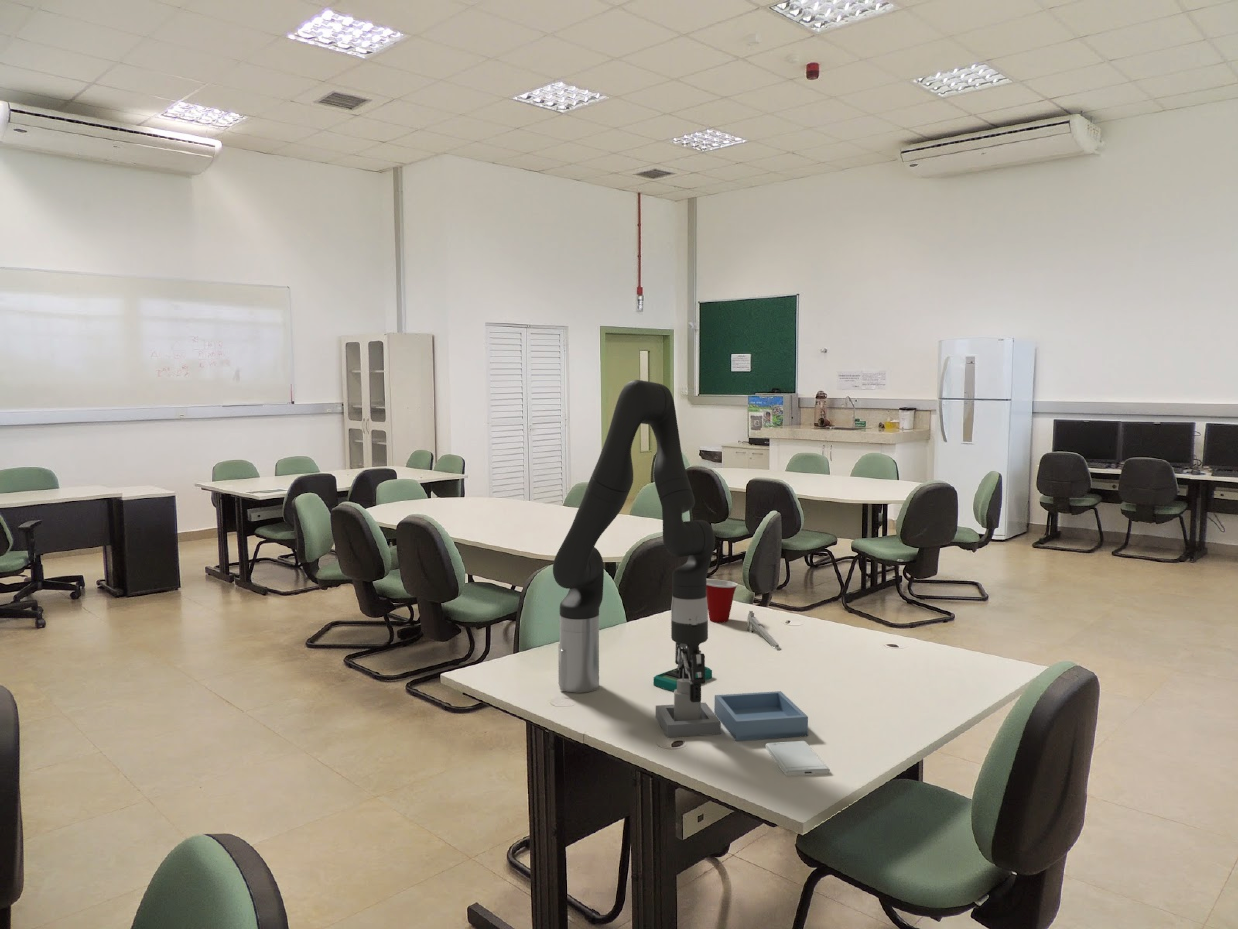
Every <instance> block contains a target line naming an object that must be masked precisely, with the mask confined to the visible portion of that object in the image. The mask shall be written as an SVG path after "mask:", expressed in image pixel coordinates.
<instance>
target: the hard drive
mask: <svg viewBox="0 0 1238 929" xmlns="http://www.w3.org/2000/svg"><path fill="white" fill-rule="evenodd" d="M765 750H767V752H768V753H769V755H770V756H771V758H772V759H773V760H774V761H775V763H776V765H777V766H778V767H779V768H780V770H781V771H782V772H783V773H784V775H785V776H786V777H796V776H811V775H812V776H814V775H827V774H828V775H829V774H831V773H830V772H831V771H830V770H831V769H830V768H829V767H828V766H827V764H826V763H825V762H824V761H823V760H822V759H821V758H820V756H819V755H818V754H817V753H816V752H815V751H814V750H813V748H812V747H811V746H810V745H809V744H808V742H807V741H805V740H798V741H797V740H796V741H793V740H792V741H784V742H783V741H782V742H780V741H779V742H767V743H766V744H765Z"/></svg>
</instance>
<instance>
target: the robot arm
mask: <svg viewBox="0 0 1238 929" xmlns="http://www.w3.org/2000/svg"><path fill="white" fill-rule="evenodd" d="M676 412H677V411H676V406H675V400H674V396H673V393H672V392H671V390H670V389H669V388H668V387H667V386H666V385H665V384H662V383H658V382H653V381H648V380H640V379H632V380H630V381H628V382H627V383H626V384H625V385H624V386H623V387H622V389H621V391H620V393H619V395H618V398H617V401H616V403H615V407H614V411H613V415H612V418H611V421H610V426H609V429H608V433H607V435H606V437H605V441H604V443H603V446H602V449H601V452H600V454H599V457H598V460H597V462H596V464H595V467H594V469H593V471H592V473H591V476H590V478H589V481H588V484H587V486H586V488H585V491H584V495H583V497H582V499H581V502H580V504H579V506H578V510H577V511H576V514H575V517H574V519H573V522H572V524H571V526H570V528H569V531H568V532H567V533H566V536H565V538H564V540H563V542H562V544H561V545H560V547H559V549H558V550H557V553H556V555H555V557H554V560H553V563H552V574H553V578H554V581H555V582H556V583H557V584H558V586H560V587H561V588H563V589H567V590H568V589H569V590H568V593H567V594H566V596H564V598H563V600H561V602H560V604H559V643H558V645H557V646H558V686H559V689H560V691H561V692H568V693H576V694H577V693H579V694H580V693H581V694H582V693H589V692H592V691H595V690H598V688H599V687H600V607H601V604H602V602H603V598H604V597H603V596H604V579H605V578H604V577H605V575H604V574H605V573H604V572H605V565H604V560H603V556H602V555H601V552H600V551H599V549H597V548H596V547H595V546H596V544H597V543H598V540H599V539H600V537H601V536H602V534H603V533H604V532H605V531H606V530H607V528H608V527H609V526H610V525H611V524H612V523H613V521H614V520H615V519H616V517H617V516H618V515H619V513H620V512H621V511H622V509H623V507H624V505H625V503H626V502H627V498H628V496H629V494H630V492H631V489H632V485H633V483H634V468H633V461H632V447H633V443H634V439H635V438H636V434H637V432H638V429H639V427H640V425H641V424H642V425H649V426H650V428H651V431H652V432H653V435H654V437H655V441H656V455H655V461H654V466H653V481H654V485H655V488H656V492H657V495H658V499H659V502H660V505H661V516H662V517H661V518H662V541H663V545H664V548H665V549H666V550H667V551H666V552H668V553H669V554H670V555H671V556H673V557H675V558H676V557H677V558H683V557H688V558H687V561H686V563H684V564H683V565H680V566H678V567H676V568H674V570H673V571H672V575H671V576H672V577H671V578H672V581H671V583H672V584H671V585H672V586H671V588H672V589H671V591H672V592H671V593H672V595H671V598H672V599H671V607H670V618H671V619H670V620H671V622H670V628H671V631H670V633H671V634H670V636H671V640H672V641H673V642H675V656H674V657H675V659H674V663H675V665H677V666H676V668H678V670H679V679H682V674H683V669H684V679H689V683H690V701H691V702H700V701H701V702H702V685H703V684H705V683H706V680H705V667H706V662H705V660H706V655H705V654H704V653H702V651H701V650H700V645H701V644H704V643H706V642H707V640H708V638H709V630H708V629H709V624H708V623H709V622H708V621H709V613H708V605H707V584H706V580H707V577H708V572H709V569H710V565H711V561H712V557H713V554H714V550H715V549H714V548H715V546H716V545H715V544H716V537H715V536H716V535H715V532H714V529H713V527H712V526H711V524H710V523H709V522H708V521H706V520H703V519H696V520H689V521H684V520H683V514H684V513H687V512H689V511H691V510H692V509H693V508H694V506H695V504H696V499H695V496H694V493H693V489H692V486H691V483H690V480H689V477H688V473H687V470H686V466H685V463H684V457H683V453H682V448H681V447H682V445H681V439H680V431H679V427H678V421H677V420H678V419H677V413H676ZM696 673H697V674H698V678H696Z"/></svg>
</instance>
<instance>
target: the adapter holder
mask: <svg viewBox="0 0 1238 929" xmlns="http://www.w3.org/2000/svg"><path fill="white" fill-rule="evenodd" d="M655 719H656V721H657V722H658V724H659V725H660V727H661V729H662V732H664V735H665V736H666V737H667V738H679V736H680V737H681V736H682V737H693V736H695V737H696V736H708V735H721V729H722V728H721V726H722V725H721V724H722V722H721V721H720V720H719V719H718V717H717V716H716V715H715V713H714V711H713V710H712V709H711V708H710V706H709V705H708V704H707V702H701V720H688V721H674V704H661V705H655ZM682 737H681V738H682Z"/></svg>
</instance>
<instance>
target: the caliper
mask: <svg viewBox="0 0 1238 929" xmlns="http://www.w3.org/2000/svg"><path fill="white" fill-rule="evenodd" d="M746 619H747V621H746V622H747V623H746V626H747V627H746V628H747V631H749V632H750V631H754V632H755V633H759V634H760V635H761V636H762V637H763V638H764V639H765V640H766V641H767V643H768V644H769V645H770V646H771V647H772V646H773V647H775V648H776V649H777V650H776V649H775V648H774V649H775V650H776V651H781V647H780V645H779V643H778V642H777V641H776V640H775V639H774V637H772V635H771V634H770V633H769V632H768V631H767V630H766V629H765V628H764V627H763V626H762V624H761V622H760V621H759V620H758V619H757V617H755V612H753V610H749V612H748V614H747V618H746ZM773 647H772V648H773Z"/></svg>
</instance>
